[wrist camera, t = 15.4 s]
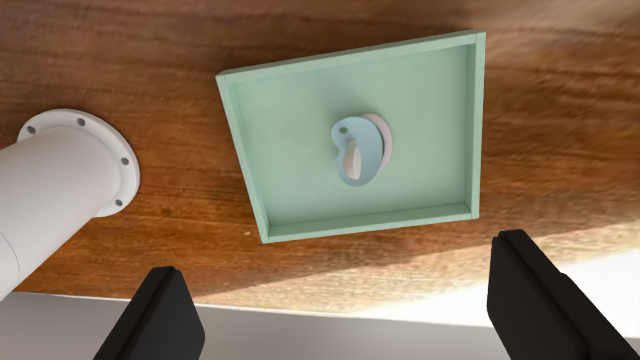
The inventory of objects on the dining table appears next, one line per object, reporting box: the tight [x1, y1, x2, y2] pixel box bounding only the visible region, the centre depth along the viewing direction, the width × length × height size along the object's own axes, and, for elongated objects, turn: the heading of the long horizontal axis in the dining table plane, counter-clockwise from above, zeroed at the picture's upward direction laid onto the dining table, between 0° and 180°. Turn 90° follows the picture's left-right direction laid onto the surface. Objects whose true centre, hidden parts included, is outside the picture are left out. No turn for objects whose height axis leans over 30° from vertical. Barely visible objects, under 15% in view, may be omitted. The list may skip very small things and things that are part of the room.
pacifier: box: [331, 113, 392, 187], centre depth 35 cm, size 7×6×6 cm
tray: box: [215, 29, 486, 243], centre depth 37 cm, size 24×19×3 cm
